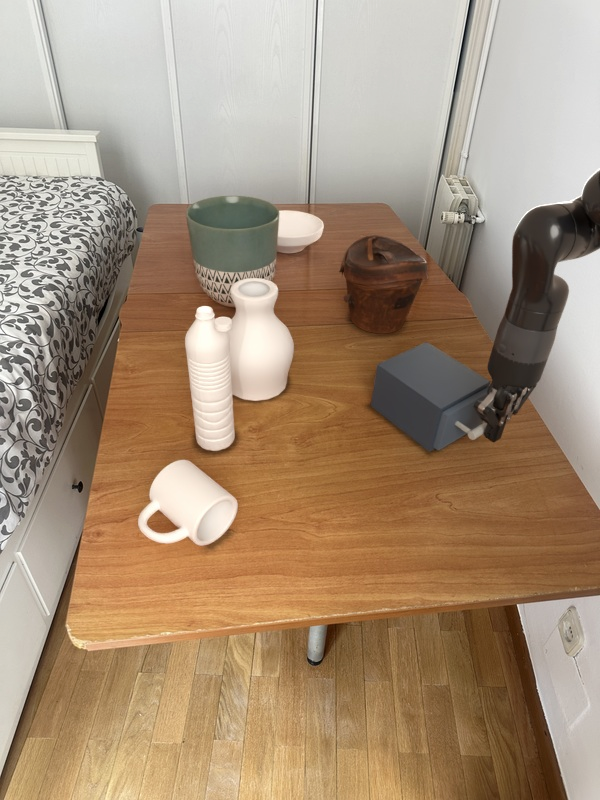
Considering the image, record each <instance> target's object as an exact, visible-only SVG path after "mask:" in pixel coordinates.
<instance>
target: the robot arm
mask: <svg viewBox="0 0 600 800" xmlns="http://www.w3.org/2000/svg"><path fill="white" fill-rule="evenodd" d="M598 250H600V168H598V169H597V170H596V171H595V172H594V173H592V174H591V175H590V176H589V177H588V179H587V180H586V182H585V183H584V185H583V188H582V191H581V195H579V196H577V197H576V198H573V199H571V200H567V201H561V202H554V203H548V204H542V205H537V206H535V207H533V208H531V209H530V210H528V211H526V213H525V214H524V215H523V216H522V217H521V219H520V220H519V222H518V224H517V225H516V227H515V230H514V232H513V235H512V243H511V259H512V260H511V283H512V284H511V289H510V290H511V291H510V293H509V296H508V300H507V303H506V307H505V311H504V314H503V316H502V318H501V321H500V323H499V325H498V327H497V331H496V335H495V338H494V341H493V344H492V348H491V351H490V355H489V359H488V362H487V365H486V367H487V372H488V374H489V376H490V378H491V382H490V385H489V388H488V390H487V395H488V396H487V397H486V398H485V400H484V401H481V402H480V401H479V400H478V401H476V402H475V404H474V409H475V410H476V412H477V414H478V416H479V417H480V419H481V420H483V423H484V422H486V423H487V426H486V429H485V433H484V434H483V436H484V438H486V439H487V440H489V441H490V442H491V443H496V442H498V441H499V440H501V439H502V435H503V433H504V430H505V428H506V424H507V423H508V422H510V421H511V418H512V416H513V415H514V416H516V415H517V414H518V413H519V412H520V410H521V408H522V407H523V405H524V404H525V403H526V401H527V400H528V398H529V397H530V396H531V394H532V393H533V391H534V390H535V389H536V387H537V385H538V383H539V382H540V380H541V379H542V376H543V373H544V371H545V369H546V368H545V367H546V366H547V362H548V360H549V357H550V354H551V352H552V348H553V346H554V344H555V340H556V335H557V331H558V326H559V324H560V321H561V319H562V316H563V313H564V311H565V307H566V304H567V302H568V298H569V295H570V288H569V285H568V282H567V281H566V280H565V279H564V278H563V277H561V276H559V275H557V274H555V272H556V271H555V270H556V267H557V265H558V263H563V262H567V261H571V260H576V259H577V260H578V259H580V258H583V257H586V256H588V255H591V254H592V253H595V252H597V251H598Z"/></svg>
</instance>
